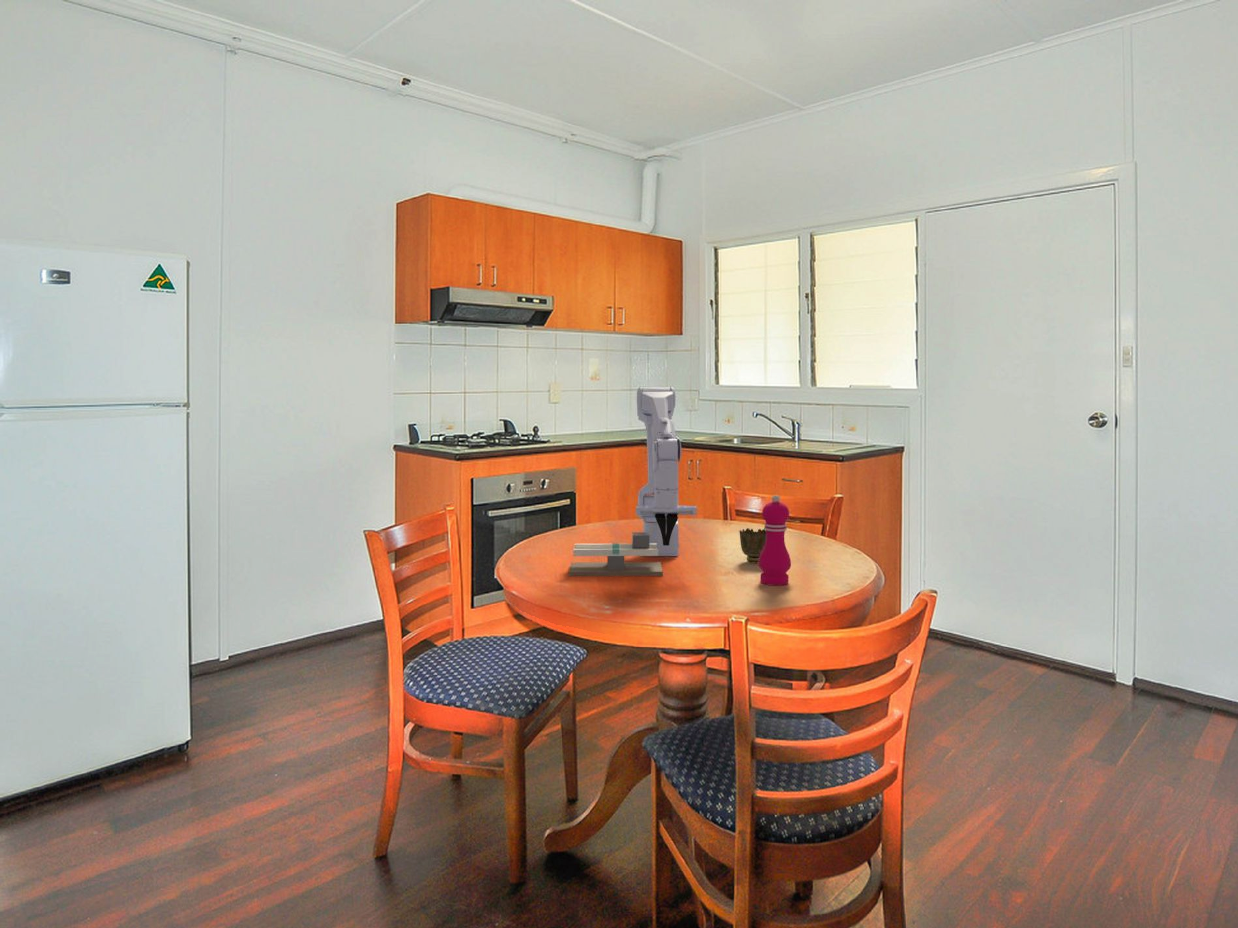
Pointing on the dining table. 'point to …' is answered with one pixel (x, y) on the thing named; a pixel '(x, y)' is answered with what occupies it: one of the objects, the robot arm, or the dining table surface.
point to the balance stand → (615, 561)
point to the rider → (640, 540)
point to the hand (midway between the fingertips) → (666, 544)
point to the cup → (752, 543)
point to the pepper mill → (775, 544)
